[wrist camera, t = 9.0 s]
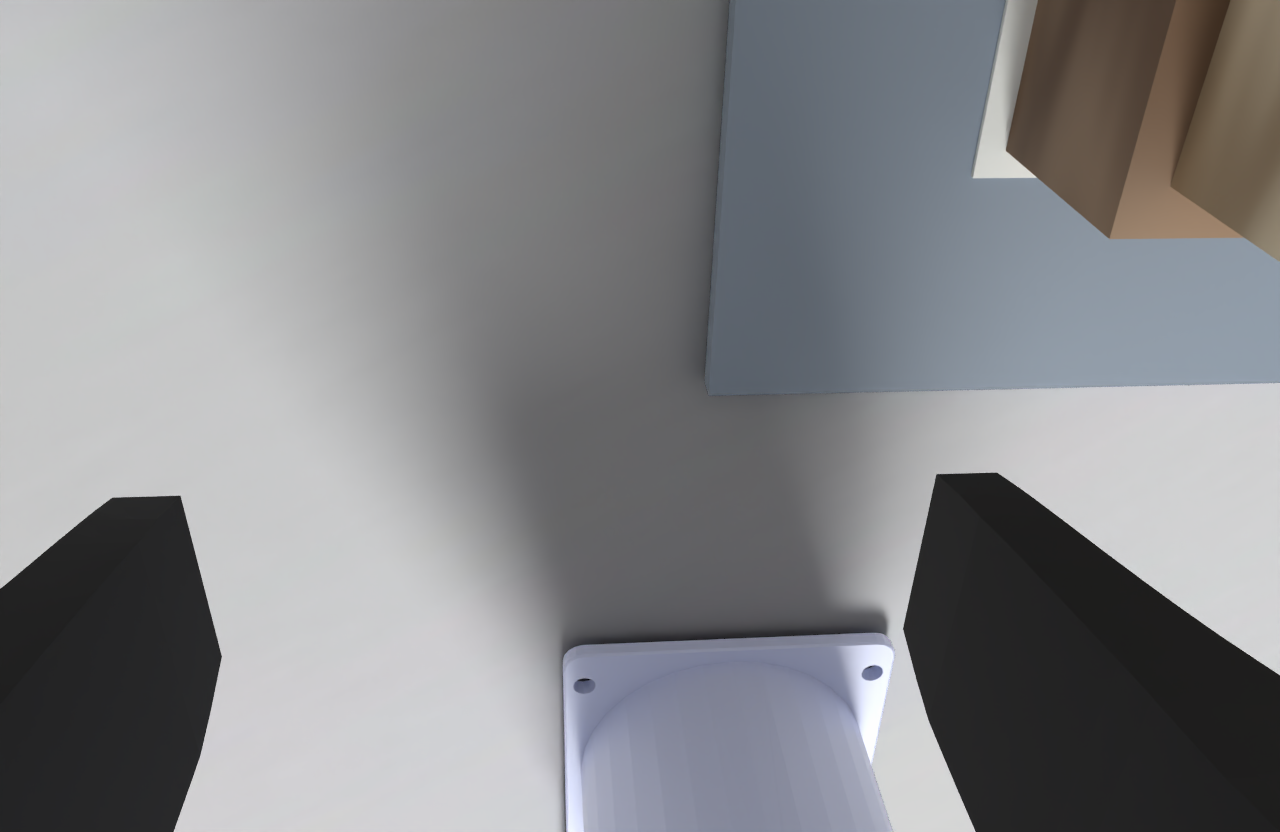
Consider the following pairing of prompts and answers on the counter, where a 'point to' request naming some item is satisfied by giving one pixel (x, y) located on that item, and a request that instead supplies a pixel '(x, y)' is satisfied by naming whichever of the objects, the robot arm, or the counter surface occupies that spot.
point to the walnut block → (1117, 110)
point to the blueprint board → (937, 225)
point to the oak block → (1239, 128)
